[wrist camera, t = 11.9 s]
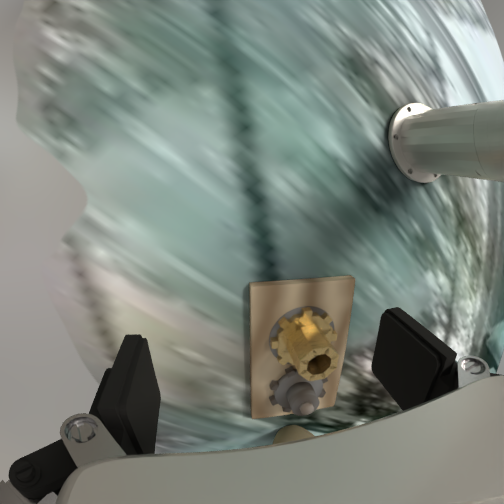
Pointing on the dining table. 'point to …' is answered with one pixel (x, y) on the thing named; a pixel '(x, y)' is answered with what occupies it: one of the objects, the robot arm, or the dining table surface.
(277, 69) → the dining table surface
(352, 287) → the gear board
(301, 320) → the brass gear
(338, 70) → the dining table surface
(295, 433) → the flower pot
